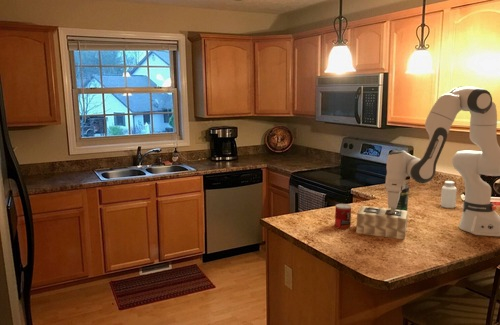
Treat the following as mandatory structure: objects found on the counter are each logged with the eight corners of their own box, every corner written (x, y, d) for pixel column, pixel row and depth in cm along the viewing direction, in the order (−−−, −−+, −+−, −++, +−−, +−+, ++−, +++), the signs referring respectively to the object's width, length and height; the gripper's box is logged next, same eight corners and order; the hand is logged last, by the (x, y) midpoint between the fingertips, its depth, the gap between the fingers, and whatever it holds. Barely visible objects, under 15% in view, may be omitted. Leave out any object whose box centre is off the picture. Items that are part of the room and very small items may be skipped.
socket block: (406, 230, 204) (407, 209, 202) (404, 239, 191) (405, 218, 189) (360, 224, 212) (361, 205, 211) (356, 233, 200) (357, 212, 198)
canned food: (341, 230, 204) (342, 208, 202) (331, 225, 211) (332, 204, 209) (353, 227, 208) (354, 206, 206) (343, 223, 215) (344, 202, 213)
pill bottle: (440, 207, 242) (442, 182, 240) (440, 204, 249) (442, 179, 247) (455, 209, 239) (457, 183, 237) (454, 205, 247) (456, 180, 244)
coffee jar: (403, 221, 218) (405, 187, 214) (388, 218, 222) (390, 184, 219) (409, 216, 225) (411, 183, 222) (394, 214, 230) (396, 181, 227)
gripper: (390, 179, 206) (388, 206, 209) (386, 188, 188) (384, 217, 190) (403, 180, 204) (401, 207, 206) (400, 189, 185) (398, 219, 188)
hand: (393, 212), depth 198 cm, fingers closed, pressing on peg
